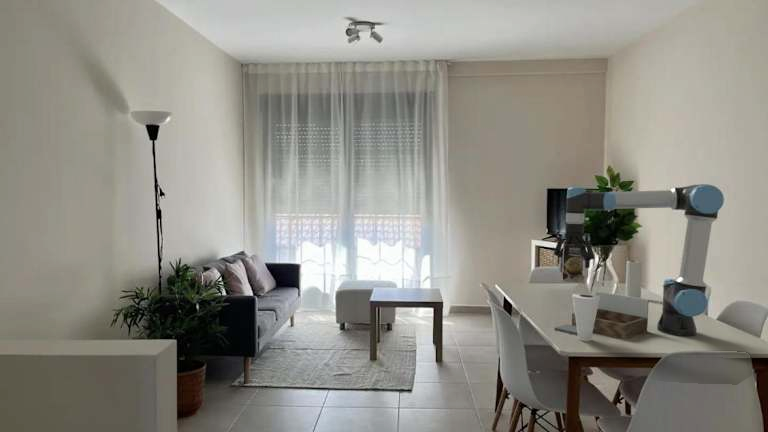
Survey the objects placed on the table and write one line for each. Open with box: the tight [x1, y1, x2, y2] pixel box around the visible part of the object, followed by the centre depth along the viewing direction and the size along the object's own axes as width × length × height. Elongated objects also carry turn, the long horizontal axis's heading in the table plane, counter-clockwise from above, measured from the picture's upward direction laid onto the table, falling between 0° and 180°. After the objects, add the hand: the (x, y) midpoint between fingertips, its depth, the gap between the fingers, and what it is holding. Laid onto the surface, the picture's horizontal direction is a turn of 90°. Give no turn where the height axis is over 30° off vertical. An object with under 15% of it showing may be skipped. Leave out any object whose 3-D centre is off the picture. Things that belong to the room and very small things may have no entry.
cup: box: [571, 293, 600, 342], centre depth 219 cm, size 11×11×18 cm
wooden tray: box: [571, 309, 649, 340], centre depth 237 cm, size 24×21×6 cm
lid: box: [595, 290, 649, 319], centre depth 244 cm, size 24×1×8 cm, turn 40°
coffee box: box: [560, 243, 587, 284], centre depth 233 cm, size 9×6×16 cm
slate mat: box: [554, 323, 578, 336], centre depth 234 cm, size 10×10×1 cm
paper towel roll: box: [624, 260, 643, 298], centre depth 310 cm, size 7×6×21 cm
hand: (572, 273), depth 233 cm, fingers closed on coffee box, 11 cm apart
